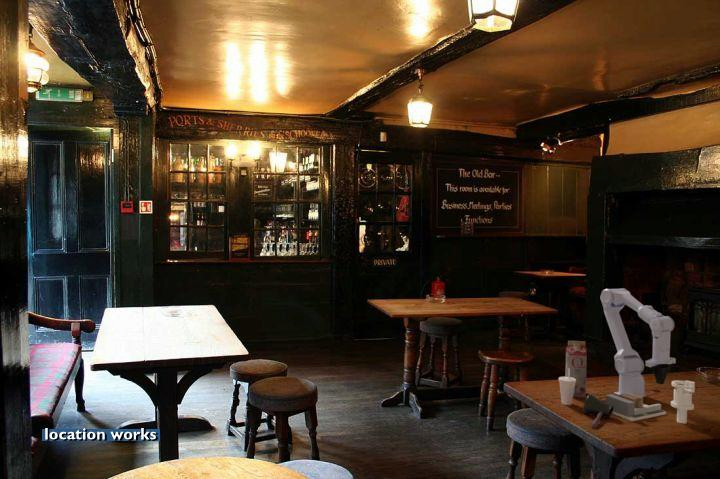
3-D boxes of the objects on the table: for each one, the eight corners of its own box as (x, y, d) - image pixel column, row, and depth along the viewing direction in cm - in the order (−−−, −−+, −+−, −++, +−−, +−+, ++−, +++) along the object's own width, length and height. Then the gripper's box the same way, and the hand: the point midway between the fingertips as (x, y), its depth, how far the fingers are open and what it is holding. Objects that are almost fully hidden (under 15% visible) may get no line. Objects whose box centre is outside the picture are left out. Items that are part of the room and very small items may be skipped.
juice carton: (585, 397, 219) (587, 343, 218) (568, 396, 220) (569, 342, 220) (581, 392, 226) (583, 339, 225) (564, 391, 227) (566, 338, 226)
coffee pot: (589, 408, 205) (612, 417, 200) (570, 427, 192) (594, 438, 187) (592, 390, 203) (615, 399, 198) (573, 408, 190) (597, 418, 185)
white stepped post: (690, 427, 189) (692, 384, 188) (667, 421, 193) (669, 380, 193) (695, 421, 194) (696, 380, 193) (673, 416, 199) (674, 376, 198)
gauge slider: (628, 405, 206) (628, 392, 206) (650, 413, 198) (651, 400, 198) (619, 407, 204) (619, 394, 204) (641, 415, 196) (641, 402, 196)
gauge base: (634, 403, 213) (635, 388, 213) (665, 414, 201) (666, 398, 201) (601, 409, 205) (602, 393, 205) (632, 421, 193) (632, 404, 193)
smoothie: (576, 406, 208) (577, 370, 207) (559, 405, 209) (560, 369, 209) (573, 401, 214) (574, 366, 214) (556, 400, 215) (557, 365, 215)
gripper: (658, 352, 200) (656, 388, 201) (683, 348, 206) (682, 384, 207) (641, 348, 207) (639, 383, 207) (666, 344, 213) (665, 379, 213)
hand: (660, 383), depth 207 cm, fingers closed
